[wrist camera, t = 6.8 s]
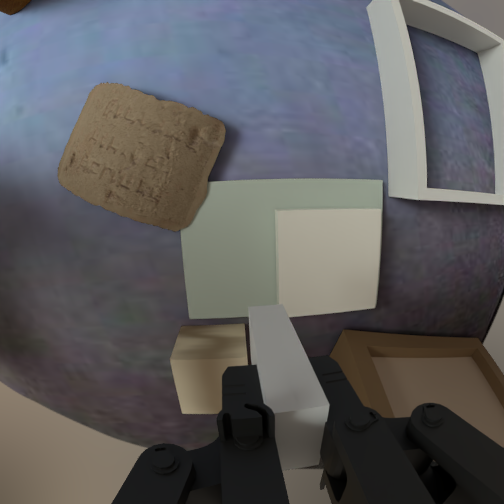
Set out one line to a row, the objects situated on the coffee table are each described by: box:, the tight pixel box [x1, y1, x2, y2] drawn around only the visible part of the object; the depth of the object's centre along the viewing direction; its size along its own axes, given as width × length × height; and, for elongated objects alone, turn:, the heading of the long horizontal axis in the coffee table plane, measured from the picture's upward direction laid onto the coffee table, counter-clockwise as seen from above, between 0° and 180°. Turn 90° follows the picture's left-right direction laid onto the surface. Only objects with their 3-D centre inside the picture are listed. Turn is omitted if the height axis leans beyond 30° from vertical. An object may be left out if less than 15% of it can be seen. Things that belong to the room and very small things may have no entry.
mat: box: [180, 179, 383, 319], centre depth 26 cm, size 18×12×1 cm, turn 92°
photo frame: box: [329, 329, 504, 462], centre depth 18 cm, size 15×22×25 cm
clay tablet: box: [58, 82, 226, 232], centre depth 21 cm, size 14×10×3 cm
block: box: [170, 323, 248, 414], centre depth 25 cm, size 6×6×6 cm
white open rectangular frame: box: [366, 0, 504, 205], centre depth 21 cm, size 18×21×5 cm
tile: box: [275, 208, 381, 317], centre depth 25 cm, size 2×9×9 cm
